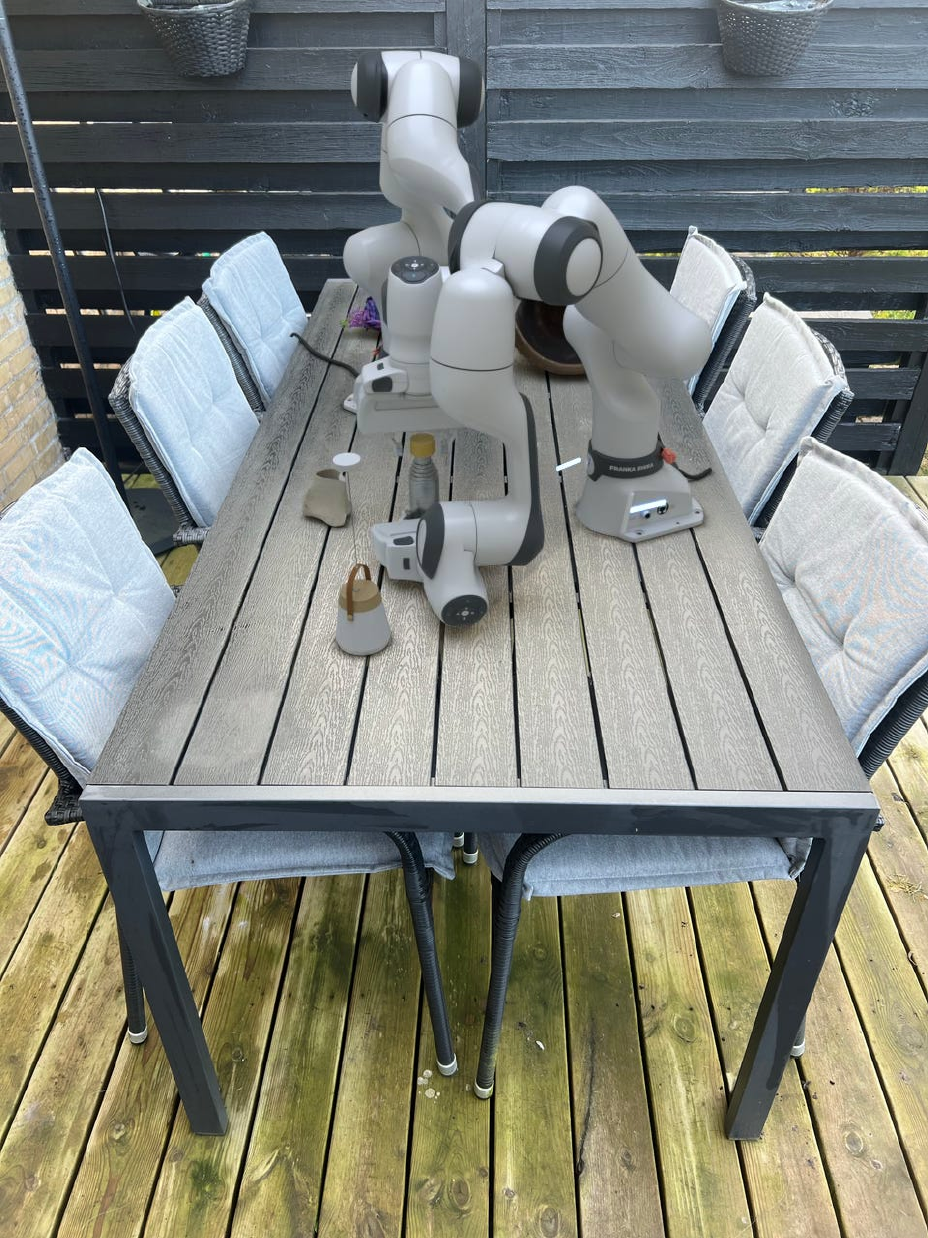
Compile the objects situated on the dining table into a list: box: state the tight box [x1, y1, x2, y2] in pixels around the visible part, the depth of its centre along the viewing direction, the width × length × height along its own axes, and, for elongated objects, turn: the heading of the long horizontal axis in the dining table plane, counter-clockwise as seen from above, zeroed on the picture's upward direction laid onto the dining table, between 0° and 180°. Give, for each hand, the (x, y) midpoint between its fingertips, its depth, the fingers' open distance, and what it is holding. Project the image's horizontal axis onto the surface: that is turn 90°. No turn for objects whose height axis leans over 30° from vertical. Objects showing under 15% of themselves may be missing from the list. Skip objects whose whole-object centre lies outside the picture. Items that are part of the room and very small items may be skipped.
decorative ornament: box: [338, 295, 382, 334], centre depth 237 cm, size 13×11×30 cm
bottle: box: [407, 456, 441, 519], centre depth 155 cm, size 5×5×19 cm
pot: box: [515, 296, 586, 376], centre depth 220 cm, size 32×32×30 cm
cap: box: [409, 432, 436, 458], centre depth 149 cm, size 4×4×2 cm
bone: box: [301, 468, 353, 528], centre depth 164 cm, size 9×8×10 cm
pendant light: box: [332, 452, 392, 656], centre depth 130 cm, size 8×8×30 cm
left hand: (422, 453), depth 150 cm, fingers open, 6 cm apart
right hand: (423, 511), depth 158 cm, fingers closed on bottle, 5 cm apart
